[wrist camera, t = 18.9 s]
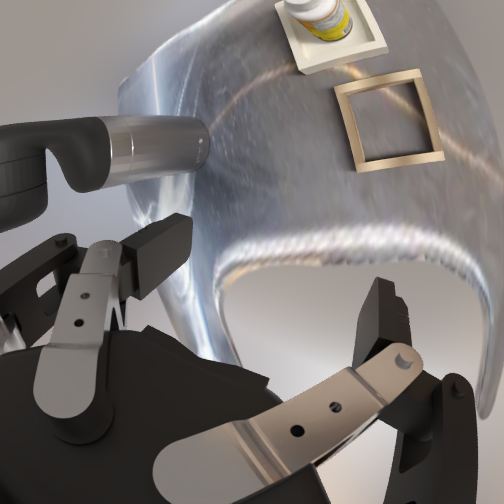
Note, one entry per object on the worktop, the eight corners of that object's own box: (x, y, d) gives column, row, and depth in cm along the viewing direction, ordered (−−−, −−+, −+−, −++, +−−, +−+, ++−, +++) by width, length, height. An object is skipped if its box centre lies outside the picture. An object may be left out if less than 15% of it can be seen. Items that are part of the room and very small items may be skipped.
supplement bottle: (305, 15, 26) (266, -19, 18) (345, 3, 23) (316, -38, 15) (318, 49, 28) (281, 18, 19) (360, 38, 24) (336, -1, 16)
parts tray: (306, 75, 30) (298, 70, 28) (282, 11, 28) (274, 4, 26) (389, 53, 24) (387, 46, 22) (356, -13, 22) (352, -23, 20)
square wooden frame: (359, 172, 31) (357, 173, 30) (337, 90, 29) (333, 86, 28) (443, 160, 25) (444, 160, 24) (418, 73, 23) (418, 68, 22)
